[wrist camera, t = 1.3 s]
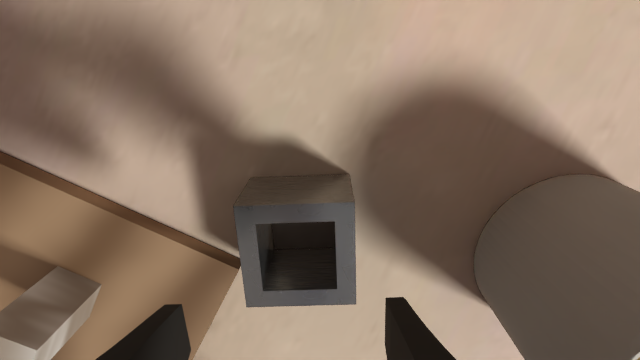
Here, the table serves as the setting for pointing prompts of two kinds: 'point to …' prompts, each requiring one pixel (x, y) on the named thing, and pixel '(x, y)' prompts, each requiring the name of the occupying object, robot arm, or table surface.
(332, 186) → the square hub
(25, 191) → the post board
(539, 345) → the coffee mug
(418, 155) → the table surface
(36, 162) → the table surface
